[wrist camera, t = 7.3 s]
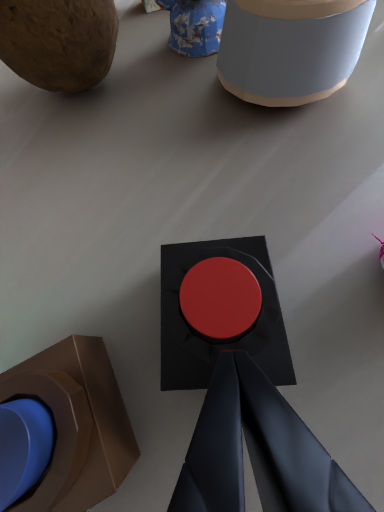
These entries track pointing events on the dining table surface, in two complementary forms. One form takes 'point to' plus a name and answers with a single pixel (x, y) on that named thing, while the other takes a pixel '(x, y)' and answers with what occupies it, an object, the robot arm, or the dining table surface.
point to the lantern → (194, 26)
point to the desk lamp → (290, 48)
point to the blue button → (23, 447)
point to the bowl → (59, 41)
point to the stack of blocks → (150, 5)
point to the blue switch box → (75, 424)
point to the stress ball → (381, 253)
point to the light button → (220, 297)
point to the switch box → (207, 349)
